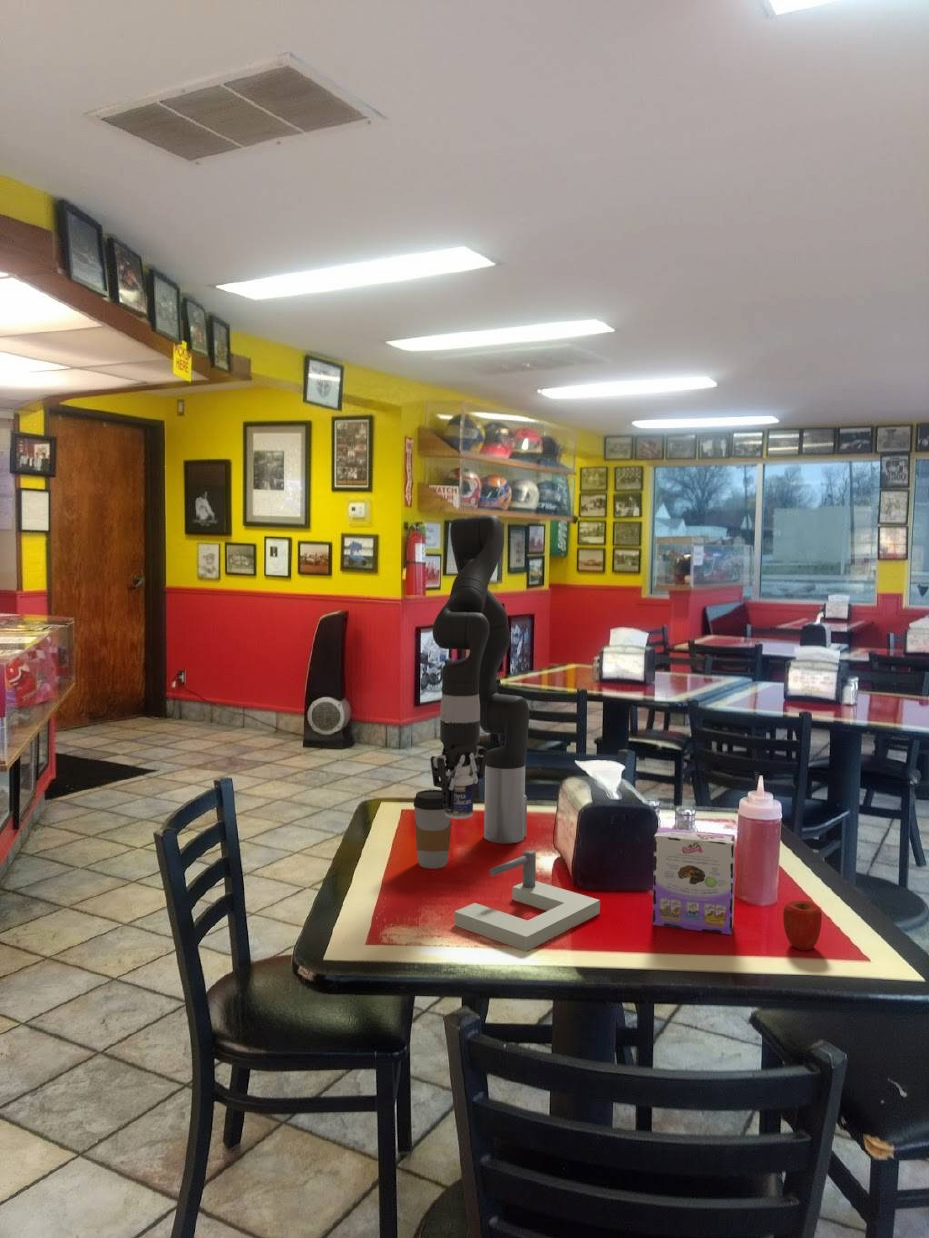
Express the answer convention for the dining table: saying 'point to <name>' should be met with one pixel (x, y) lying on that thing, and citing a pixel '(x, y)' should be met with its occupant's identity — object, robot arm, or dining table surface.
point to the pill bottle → (462, 795)
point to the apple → (802, 924)
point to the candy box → (694, 880)
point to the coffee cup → (431, 829)
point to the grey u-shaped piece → (558, 903)
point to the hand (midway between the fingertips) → (458, 805)
